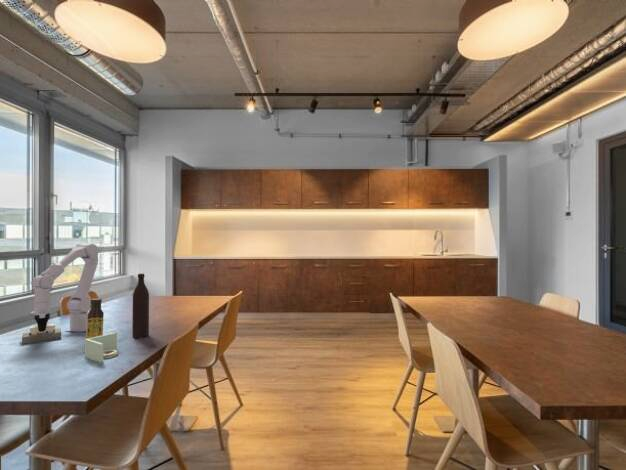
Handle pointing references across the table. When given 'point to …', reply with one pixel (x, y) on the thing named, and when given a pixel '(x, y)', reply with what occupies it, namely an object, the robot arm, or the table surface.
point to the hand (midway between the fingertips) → (42, 330)
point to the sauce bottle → (95, 319)
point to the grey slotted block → (41, 336)
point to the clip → (48, 327)
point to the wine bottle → (140, 309)
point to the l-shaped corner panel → (101, 347)
